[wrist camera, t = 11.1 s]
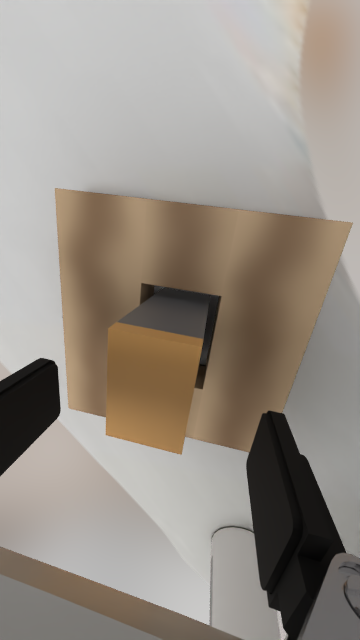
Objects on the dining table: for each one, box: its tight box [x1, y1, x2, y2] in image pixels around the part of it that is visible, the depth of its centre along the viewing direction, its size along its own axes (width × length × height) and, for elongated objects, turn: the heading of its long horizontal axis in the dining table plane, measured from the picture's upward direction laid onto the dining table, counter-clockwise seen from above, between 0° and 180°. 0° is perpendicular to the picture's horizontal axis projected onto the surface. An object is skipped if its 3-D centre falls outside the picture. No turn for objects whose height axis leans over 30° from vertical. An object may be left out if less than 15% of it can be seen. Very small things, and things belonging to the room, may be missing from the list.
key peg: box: [106, 287, 210, 455], centre depth 14 cm, size 4×6×10 cm, turn 173°
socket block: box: [55, 188, 353, 452], centre depth 17 cm, size 18×18×4 cm
